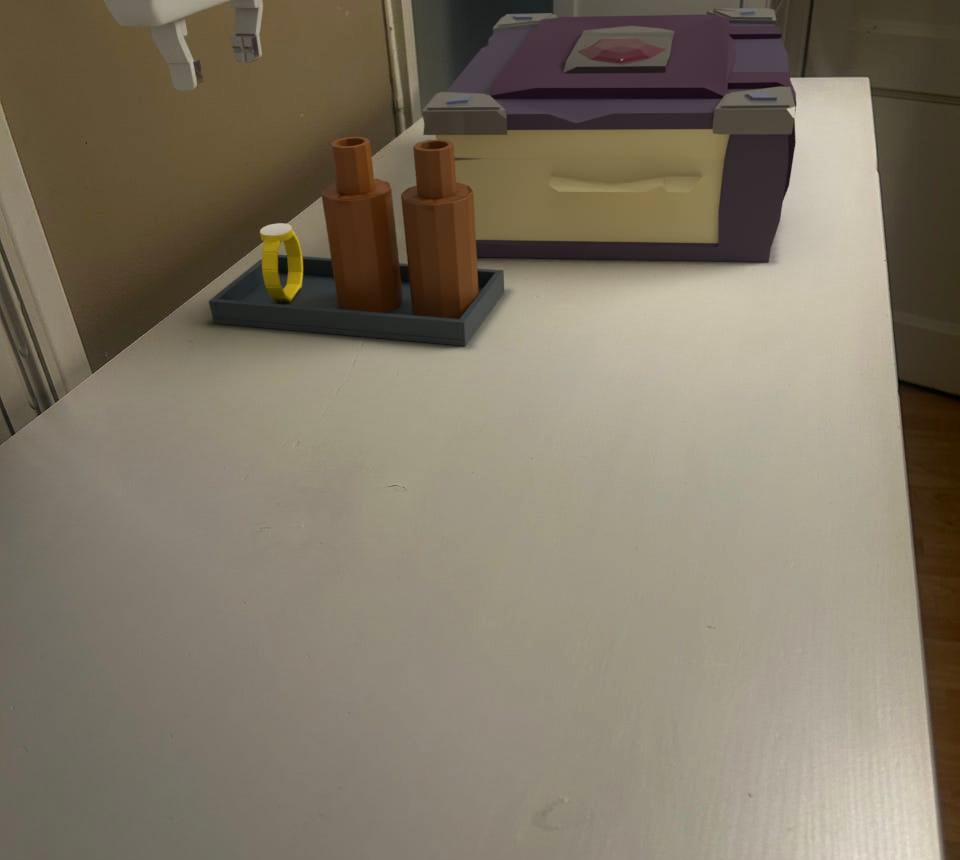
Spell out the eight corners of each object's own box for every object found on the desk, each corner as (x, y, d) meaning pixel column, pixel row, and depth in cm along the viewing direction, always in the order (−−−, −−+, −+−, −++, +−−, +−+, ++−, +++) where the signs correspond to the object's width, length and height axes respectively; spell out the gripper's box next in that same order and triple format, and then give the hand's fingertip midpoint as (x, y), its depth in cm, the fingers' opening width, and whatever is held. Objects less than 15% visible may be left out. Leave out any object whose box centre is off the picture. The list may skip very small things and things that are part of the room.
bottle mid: (329, 319, 85) (302, 151, 76) (354, 293, 89) (332, 131, 80) (389, 324, 83) (369, 153, 74) (412, 298, 87) (395, 133, 78)
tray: (213, 323, 85) (208, 300, 84) (271, 274, 93) (267, 253, 92) (465, 346, 79) (464, 322, 78) (504, 292, 87) (503, 269, 86)
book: (769, 129, 121) (788, -5, 112) (789, 267, 88) (817, 93, 79) (504, 130, 127) (501, 3, 117) (430, 260, 94) (417, 97, 84)
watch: (286, 282, 90) (273, 215, 86) (314, 283, 90) (303, 216, 86) (261, 309, 86) (247, 240, 82) (291, 310, 85) (278, 240, 81)
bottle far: (404, 325, 83) (386, 154, 74) (426, 299, 87) (412, 133, 78) (466, 331, 81) (456, 157, 73) (486, 304, 85) (478, 135, 76)
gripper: (212, -165, 74) (246, 45, 83) (47, -148, 60) (111, 104, 69) (287, -167, 73) (314, 47, 82) (137, -150, 58) (190, 108, 67)
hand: (220, 74), depth 75 cm, fingers open, 8 cm apart
